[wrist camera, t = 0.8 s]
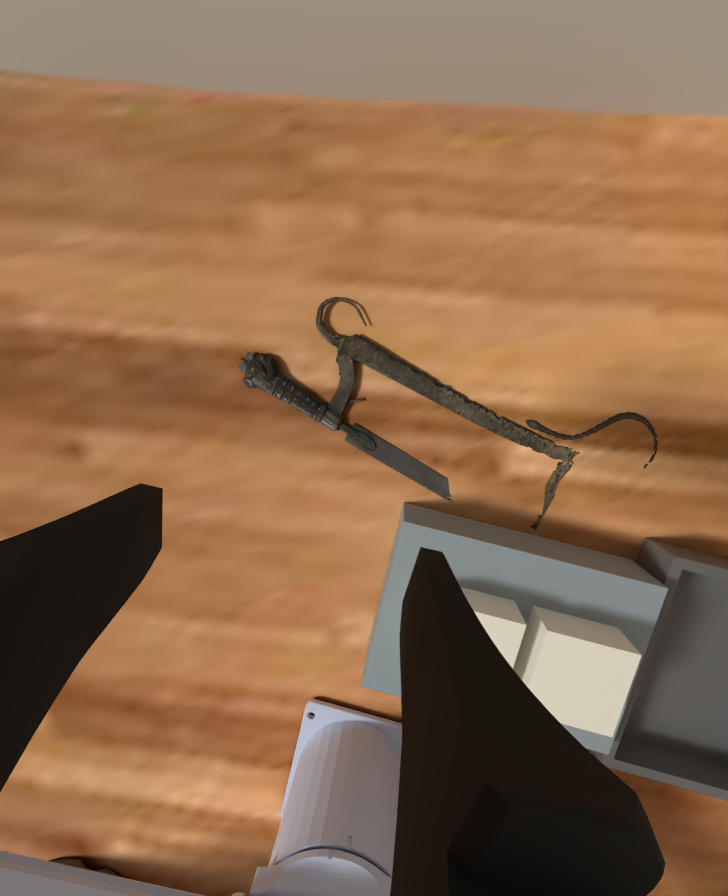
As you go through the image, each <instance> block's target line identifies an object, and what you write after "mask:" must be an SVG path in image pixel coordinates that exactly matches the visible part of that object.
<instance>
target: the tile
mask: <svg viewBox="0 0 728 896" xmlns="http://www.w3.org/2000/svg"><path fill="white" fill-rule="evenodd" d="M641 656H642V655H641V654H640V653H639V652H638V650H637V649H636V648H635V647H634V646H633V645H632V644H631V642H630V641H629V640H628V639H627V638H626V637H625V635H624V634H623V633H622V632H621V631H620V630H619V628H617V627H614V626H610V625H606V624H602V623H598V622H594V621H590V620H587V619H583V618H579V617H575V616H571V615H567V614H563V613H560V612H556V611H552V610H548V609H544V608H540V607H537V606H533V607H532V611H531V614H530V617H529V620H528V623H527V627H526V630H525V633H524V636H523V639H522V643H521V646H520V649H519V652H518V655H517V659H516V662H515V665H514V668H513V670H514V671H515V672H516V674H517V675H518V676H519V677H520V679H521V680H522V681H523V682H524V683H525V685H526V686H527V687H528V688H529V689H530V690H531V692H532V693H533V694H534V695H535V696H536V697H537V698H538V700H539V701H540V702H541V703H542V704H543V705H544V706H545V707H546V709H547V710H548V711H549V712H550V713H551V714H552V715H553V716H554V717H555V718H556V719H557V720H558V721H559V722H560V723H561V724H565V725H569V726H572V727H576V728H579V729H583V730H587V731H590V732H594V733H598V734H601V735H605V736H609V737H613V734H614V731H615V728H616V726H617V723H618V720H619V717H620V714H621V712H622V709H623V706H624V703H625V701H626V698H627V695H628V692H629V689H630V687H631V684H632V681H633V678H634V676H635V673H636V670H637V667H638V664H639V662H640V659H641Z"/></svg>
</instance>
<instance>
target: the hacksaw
mask: <svg viewBox="0 0 728 896" xmlns="http://www.w3.org/2000/svg"><path fill="white" fill-rule="evenodd" d="M335 300H338V301H343V302H346V303H349V304H350V305H352V306H353V307H354V308H355V309H356V310H357V312H358V313H359V315H360V317H361V319H362V321H363V322H364V324H365V326H367V325H366V323H365V320H364V318H363V316H362V314H361V312H360V310H359V309H358V308H357V306H356V305H355V304H353V303H352V302H350V301H348V300H347V299H343V298H340V297H334V298H330V299H327V300H325V301H324V302H323V303H321V305H320V306H319V308H318V312H317V317H316V325H317V328H318V330H319V332H320V333H321V335H322V337H324V338H325V339H326V340H327V341H328V342H329V343H332V345H334V346H336V347H337V348H338V355H337V358H336V362H337V363H338V365H339V374H340V377H341V378H340V382H339V386H338V389H337V391H336V393H335V395H334V397H333V398H332V400H331V402H330V404H329V406H328V405H327V404H325V403H322V402H321V401H319V400H318V399H316V398H315V397H314V396H312V395H311V394H309V393H308V392H307V391H305V390H304V389H302V388H301V387H299V386H298V385H297V384H296V383H294V382H293V381H292V380H290V379H288V378H287V377H285V376H284V375H283V373H282V372H281V370H280V369H279V367H278V364H277V362H276V360H275V359H274V358H273V357H272V356H270V355H268V356H266V355H265V354H263V353H260V354H258V355H257V356H256V357H255V358H253V353H250V352H248V353H247V354H246V359H248V360H246V359H244V358H243V357H242V358H241V360H243V361H244V362H245V364H244V363H242V364H240V365H239V369H240V370H241V371H244V370H246V373H245V378H244V379H243V382H244V383H245V384H246V385H247V386H248V387H249V388H254V387H257V388H260V389H262V390H264V391H266V392H268V393H270V394H272V395H273V396H276V397H278V398H279V399H280V400H283V401H284V402H286V403H288V404H290V405H292V406H293V407H296V408H297V409H299V410H300V411H303V412H304V413H306V414H307V415H309V416H310V417H313V418H314V419H315V420H316V421H317V422H321V423H322V424H324V425H325V426H326V427H328V428H329V429H331V430H334V431H335V430H336V429H337V427H338V428H340V429H341V430H343V431H345V432H346V433H348V435H347V436H346V438H345V440H344V441H347V442H349V443H350V444H352V445H353V446H355V447H356V448H358V449H361V450H362V451H364V452H365V453H367V454H370V456H373V458H376V459H379V461H382V463H385V465H388V466H390V467H391V468H393V469H394V470H397V471H399V472H400V473H402V474H403V475H405V476H406V477H408V478H411V480H414V481H415V482H417V483H420V485H423V487H426V489H429V490H432V492H435V494H438V495H440V496H441V497H443V498H444V499H445V497H450V496H451V495H450V492H449V485H448V478H446V477H445V476H443V475H441V474H440V473H438V472H436V471H434V470H433V469H431V468H429V467H428V466H426V465H424V464H422V463H421V462H419V461H417V460H416V459H414V458H412V457H410V456H409V455H407V454H405V453H404V452H402V451H400V450H399V449H397V448H395V447H393V446H392V445H390V444H388V443H387V442H385V441H383V440H381V439H380V438H378V437H376V436H375V435H373V434H371V433H369V432H368V431H366V430H364V429H363V428H361V427H359V426H357V425H356V424H353V426H352V428H350V427H348V426H347V425H345V424H344V423H343V422H342V421H341V420H342V419H343V417H344V416H343V415H342V412H343V410H344V408H345V406H346V405H347V404H350V403H352V402H355V401H361V402H362V398H359V399H356V400H353V401H350V402H348V401H349V399H350V396H351V394H352V392H353V389H354V387H355V379H356V364H355V360H357V361H359V362H361V363H363V364H365V365H367V366H369V367H370V368H372V369H374V370H376V371H378V372H379V373H381V374H383V375H385V376H387V377H389V378H391V379H393V380H395V381H397V382H399V383H400V384H402V385H404V386H405V387H407V388H409V389H411V390H413V391H415V392H417V393H419V394H421V395H423V396H425V397H427V398H429V399H430V400H432V401H434V402H436V403H438V404H440V405H442V406H443V407H445V408H447V409H449V410H451V411H453V412H455V413H457V414H459V415H461V416H462V417H464V418H466V419H468V420H470V421H472V422H473V423H475V424H477V425H480V426H482V427H484V428H486V429H488V430H490V431H492V432H494V433H496V434H498V435H500V436H502V437H504V438H506V439H509V440H511V441H513V442H515V443H518V444H520V445H523V446H526V447H530V448H532V450H534V451H536V452H539V453H545V454H546V455H548V456H549V457H551V458H554V459H560V460H563V462H558V464H557V466H558V467H556V470H555V471H553V473H552V475H551V477H550V478H549V480H548V482H547V483H546V487H545V499H544V507H543V513H542V515H539V516H538V519H537V521H536V522H534V525H532V526H530V527H531V528H533V529H535V530H536V528H537V527H538V525H539V523H540V521H541V519H542V517H543V516H544V514H545V512H546V510H547V509H548V507H549V505H550V503H551V502H552V500H553V498H554V496H555V491H556V488H557V486H558V484H559V482H560V480H561V479H562V478H563V477H564V475H565V474H566V473H567V472H568V471H569V470H570V468H571V467H572V465H571V464H570V463H569V461H570V462H571V463H572V464H574V463H573V461H572V459H573V458H574V457H575V456H576V455H575V454H579V452H576V451H574V452H572V453H571V451H572V448H570V449H569V448H568V447H563V446H557V445H555V443H554V442H553V441H551V440H549V439H546V438H544V437H542V436H540V435H539V434H537V433H535V432H533V431H531V430H529V429H527V428H525V427H523V426H521V425H519V424H517V423H515V422H513V421H511V420H508V419H506V418H505V419H504V418H503V416H501V417H499V418H498V417H497V416H495V414H494V412H492V411H491V410H487V409H486V408H484V407H483V406H481V405H479V404H477V403H475V402H474V401H469V400H467V399H466V398H465V396H463V395H461V394H459V393H457V392H455V391H453V390H451V389H449V386H447V385H441V384H439V383H437V382H436V381H435V380H434V379H433V378H431V377H428V376H427V375H426V374H424V373H423V372H420V371H419V370H417V369H415V368H413V367H412V366H410V365H408V364H406V363H405V362H403V361H402V360H399V359H397V358H396V357H394V356H392V355H391V354H389V353H388V352H386V351H384V350H383V349H381V348H379V347H378V346H376V345H374V344H372V343H370V342H369V341H367V340H365V339H363V338H362V337H360V336H358V335H357V334H356V335H353V336H350V337H339V336H338V335H336V336H334V335H332V334H331V333H330V332H329V331H328V330H327V329H326V328H325V327H324V324H323V320H322V316H323V310H324V308H325V306H326V305H327V304H329V303H330V302H332V301H335ZM252 358H253V359H252ZM246 368H247V369H246ZM625 418H627V419H634V420H637V421H641V422H642V423H643V424H645V425H646V426H647V427H648V429H649V430H650V431H651V433H652V435H653V436H654V443H655V445H654V452H655V453H654V454H653V455H652V457H651V459H650V461H649V463H650V462H652V461H653V459H654V456H655V454H656V452H657V445H658V441H657V440H656V439H655V437H657V434H656V433H655V432H654V428H653V427H652V425H651V424H650V422H649V421H648V420H647V419H646V418H645V417H643V416H640V415H638V414H636V413H630V412H627V413H620V414H617V415H615V416H613V417H611V418H609V419H608V420H606V421H603V422H602V423H601V424H599V425H597V426H595V427H594V428H592V429H589V430H588V431H586V432H583V433H581V434H580V435H579V434H576V435H575V436H571V435H565V434H559V433H557V432H555V431H552V430H550V429H548V428H546V427H544V426H543V425H541V424H540V423H538V422H537V421H535V420H526V423H527V425H528V426H529V427H531V428H532V429H537V430H539V431H541V432H544V433H546V434H548V435H553V436H555V437H557V438H562V439H563V440H567V439H570V440H575V439H577V438H579V439H581V438H582V437H584V436H589V435H590V434H591V433H595V432H597V431H598V430H601V429H603V428H604V427H606V426H608V425H610V424H612V423H613V422H616V421H619V420H622V419H625ZM573 455H574V456H573ZM569 456H570V458H569ZM565 461H567V462H566V463H565V465H564V464H563V463H564V462H565ZM560 464H561V465H562V464H563V465H562V466H561V465H560ZM647 465H648V464H645V465H644V467H643V468H646V467H647ZM446 499H447V500H449V501H451V499H450V498H446ZM452 502H453V501H452Z"/></svg>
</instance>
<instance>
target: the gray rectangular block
mask: <svg viewBox="0 0 728 896" xmlns="http://www.w3.org/2000/svg"><path fill="white" fill-rule="evenodd" d="M420 547H423V548H428V549H432V550H436V551H441V552H443V554H444V555H445V557H446V559H447V561H448V563H449V565H450V567H451V569H452V572H453V573H454V575H455V577H456V579H457V581H458V583H459V585H460V587H463V588H467V589H471V590H475V591H479V592H483V593H487V594H490V595H494V596H498V597H502V598H506V599H510V600H513V601H515V603H516V605H517V607H518V609H519V611H520V613H521V615H522V617H523V619H524V621H525V623H526V627H527V623H528V620H529V617H530V614H531V611H532V607H533V606H537V607H540V608H544V609H548V610H552V611H556V612H560V613H563V614H567V615H571V616H575V617H579V618H583V619H587V620H590V621H594V622H598V623H602V624H606V625H610V626H614V627H617V628H619V630H620V631H621V632H622V633H623V634H624V635H625V637H626V638H627V639H628V640H629V641H630V642H631V644H632V645H633V646H634V647H635V648H636V649H637V650H638V652H639V653H640V654H641V655H642V656H641V659H640V662H639V664H638V667H637V670H636V673H635V676H634V678H633V681H632V684H631V687H630V689H629V692H628V695H627V698H626V701H625V703H624V706H623V709H622V712H621V714H620V717H619V720H618V723H617V726H616V728H615V731H614V734H613V737H609V736H605V735H601V734H598V733H594V732H590V731H587V730H583V729H579V728H576V727H572V726H569V725H565V724H562V725H563V727H564V728H565V729H567V730H568V731H569V732H570V733H571V734H572V735H573V736H574V737H575V738H576V739H577V740H578V741H579V742H580V743H581V744H582V745H583V746H584V747H585V748H586V749H589V750H593V751H597V752H600V753H604V754H608V755H609V752H610V749H611V746H612V743H613V741H614V738H615V735H616V732H617V730H618V727H619V724H620V721H621V718H622V716H623V713H624V710H625V707H626V705H627V702H628V699H629V696H630V694H631V691H632V688H633V685H634V682H635V680H636V677H637V674H638V671H639V669H640V666H641V663H642V660H643V657H644V655H645V652H646V649H647V646H648V644H649V641H650V638H651V635H652V633H653V630H654V627H655V624H656V621H657V619H658V616H659V613H660V610H661V608H662V605H663V602H664V599H665V596H666V594H667V591H668V588H667V587H666V586H665V585H663V584H662V583H661V582H660V581H658V580H657V579H656V578H654V577H653V576H652V575H651V574H649V573H648V572H647V571H646V570H644V569H643V568H642V567H640V566H639V565H638V564H637V563H635V562H634V561H633V560H631V559H629V558H625V557H621V556H617V555H613V554H609V553H605V552H601V551H597V550H593V549H589V548H585V547H581V546H577V545H573V544H569V543H565V542H561V541H557V540H553V539H549V538H545V537H541V536H537V535H533V534H529V533H525V532H521V531H517V530H513V529H509V528H505V527H501V526H497V525H493V524H489V523H485V522H481V521H477V520H473V519H469V518H465V517H461V516H457V515H453V514H449V513H445V512H441V511H437V510H433V509H429V508H425V507H421V506H417V505H413V504H409V503H405V502H404V505H403V509H402V513H401V517H400V520H399V524H398V528H397V532H396V536H395V540H394V544H393V548H392V552H391V556H390V560H389V564H388V568H387V572H386V576H385V579H384V583H383V587H382V591H381V595H380V599H379V603H378V607H377V611H376V615H375V619H374V623H373V627H372V631H371V635H370V638H369V642H368V646H367V653H366V659H365V666H364V673H363V679H362V687H365V688H369V689H372V690H376V691H380V692H383V693H387V694H391V695H394V696H398V697H401V673H400V639H399V636H400V623H401V612H402V601H403V598H404V595H405V592H406V589H407V586H408V583H409V580H410V577H411V574H412V571H413V568H414V565H415V562H416V559H417V556H418V553H419V550H420ZM525 630H526V629H525ZM524 633H525V632H524ZM523 636H524V635H523ZM522 639H523V638H522ZM521 643H522V641H521ZM520 646H521V645H520ZM519 649H520V648H519ZM518 652H519V651H518ZM517 655H518V654H517ZM516 659H517V657H516ZM515 662H516V661H515ZM514 665H515V664H514ZM513 668H514V667H513Z"/></svg>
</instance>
